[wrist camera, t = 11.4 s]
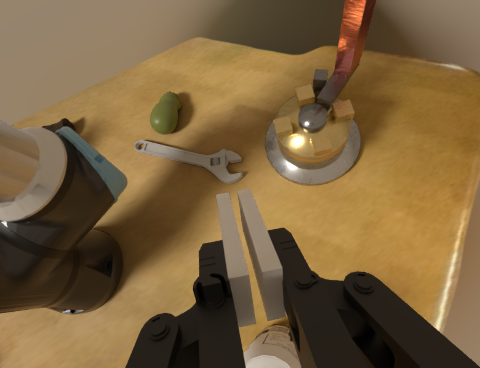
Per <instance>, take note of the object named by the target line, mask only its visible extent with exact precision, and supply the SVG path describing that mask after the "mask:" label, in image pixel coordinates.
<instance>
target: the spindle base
mask: <svg viewBox="0 0 480 368" xmlns="http://www.w3.org/2000/svg"><path fill="white" fill-rule="evenodd" d="M327 76H328V70H319V69H316V70H315V75H314V80H313V91H322V89H323V88H324V86H325V85H326V83H327ZM275 119H276V118H275ZM275 119H274V120H275ZM326 122H327V111H326V109H325V108H324V107H323V106H322V105H319V104H315V103H313V104H308V105H306V106H304V107H303V108H302V109H301V110H300V112H299V115H298V123H299V126H300V128H301V129H302V130H303V131H305V132H308V133H316V132H319V131H321V130H322V129H323V128H324V127H325V125H326ZM360 144H361V139H360V132H359V129H358V126H357V124H356V123H355V121H354V120H353V119H352V125H351V130H350V133H349V136H348V139H347V142H346V145H345V148H344V151H343V152H342V154H341V156H340V157H339V158H338V159H337V160H336V161H335V162H334V163H332V164H331V165H329V166H327V167H324V168H321V169H316V170H306V169H301V168H298V167H296V166H294V165H292V164H290V163H289V162H288V161H287V160H286V159H285V158H284V157H283V155H282V154H281V152H280V149H279V145H278V139H277V135H276V131H275V127H274V123H273V121H272V123H271V125H270V126H269V128H268V131H267V134H266V139H265V147H266V153H267V156H268V159H269V161H270V163H271V165H272V167H273V168H274V169H275V170H276V171H277V172H278V173H279V174H280V175H281V176H282V177H284V178H285V179H287V180H289V181H291V182H294V183H297V184H301V185H313V186H314V185H322V184H326V183H329V182H332V181H334V180H336V179H338V178H340V177H341V176H342V175H344V174H345V173H346V172H347V171H348V170H349V169H350V168H351V167H352V165H353V164H354V162H355V160H356V158H357V156H358V154H359V150H360Z"/></svg>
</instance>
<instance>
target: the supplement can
mask: <svg viewBox="0 0 480 368" xmlns="http://www.w3.org/2000/svg"><path fill="white" fill-rule="evenodd" d="M243 355H244V360H245V365H246V368H301V365H300V361H299V358H298V355H297V352H296V349H295V345H294V342H293V341H291V342H290V332H289V328H287V327H285V326H278V325H274V326H270V327H267V328H265V329H264V330H263V331H262V332H260V333H259V334H258V335H257V337H256V338H255V339H254V341H253V342H252V343H251V345H250V346H249V347H248V349H247V350H246V351H245V353H244V354H243Z"/></svg>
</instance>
